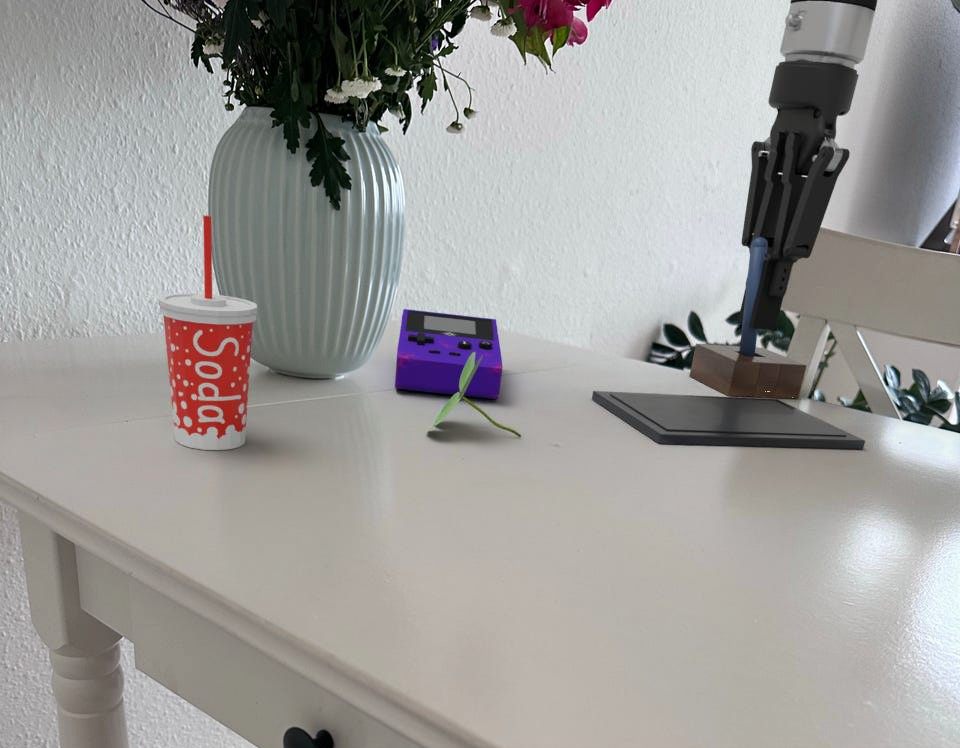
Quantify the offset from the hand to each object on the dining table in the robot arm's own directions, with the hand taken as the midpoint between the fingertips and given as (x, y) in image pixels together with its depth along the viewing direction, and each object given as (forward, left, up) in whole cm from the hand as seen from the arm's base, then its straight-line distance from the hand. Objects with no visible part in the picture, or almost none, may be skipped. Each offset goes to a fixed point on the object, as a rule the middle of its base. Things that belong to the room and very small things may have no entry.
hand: (756, 326), depth 100 cm
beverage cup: (+56, +24, -7) cm, 61 cm away
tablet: (+11, +15, -6) cm, 20 cm away
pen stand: (0, 0, -6) cm, 6 cm away
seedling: (+37, +21, -7) cm, 43 cm away
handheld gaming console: (+34, +3, -7) cm, 34 cm away
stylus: (0, 0, -5) cm, 5 cm away
